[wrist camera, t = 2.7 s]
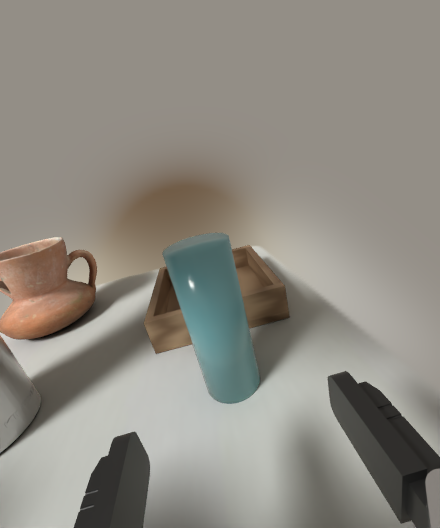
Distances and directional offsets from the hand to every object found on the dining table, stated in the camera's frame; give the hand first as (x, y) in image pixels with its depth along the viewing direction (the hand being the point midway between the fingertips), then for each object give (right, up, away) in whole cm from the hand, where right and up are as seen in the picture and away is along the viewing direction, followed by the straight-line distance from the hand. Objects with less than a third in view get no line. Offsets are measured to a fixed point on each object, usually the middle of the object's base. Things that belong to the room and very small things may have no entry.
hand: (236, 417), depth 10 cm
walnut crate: (-1, 0, +29) cm, 29 cm away
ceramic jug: (-29, -4, +36) cm, 46 cm away
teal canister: (+1, -5, +14) cm, 15 cm away
